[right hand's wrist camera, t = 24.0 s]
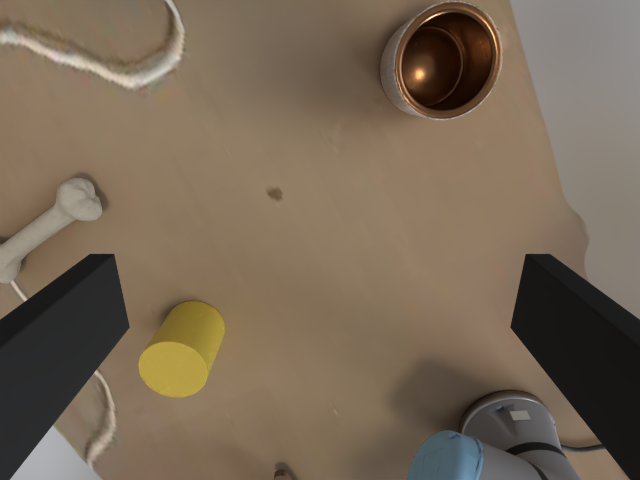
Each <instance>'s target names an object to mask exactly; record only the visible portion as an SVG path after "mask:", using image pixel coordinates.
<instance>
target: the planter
mask: <svg viewBox="0 0 640 480" xmlns="http://www.w3.org/2000/svg"><path fill="white" fill-rule="evenodd" d="M502 60H503V47H502V40H501V36H500V33H499V31H498V29H497V26H496V25H495V23H494V21H493V20H492V19H491V17H490V16H489V15H488V14H487V13H486V12H485V11H483V10H482V9H481V8H479V7H477V6H475V5H473V4H471V3H468V2H463V1H446V2H441V3H438V4H435V5H433V6H430V7H428V8H427V9H425V10H423V11H422V12H420V13H419V14H418V15H416V16H415V17H414V18H412V19H411V20H409V21H408V22H406V23H405V24H403V25H402V26H401V27H400V28H399V29H398V30H396V32H395V33H394V34H393V35H392V36H391V38H390V39H389V41H388V43H387V44H386V46H385V49H384V51H383V54H382V58H381V63H380V78H381V83H382V87H383V89H384V92H385V94H386V95H387V97H388V99H389V100H390V101H391V102H392V103H393V104H394V105H395V106H396V107H397V108H398V109H400V110H401V111H403V112H405V113H408V114H411V115H415V116H420V117H425V118H429V119H434V120H449V119H454V118H458V117H461V116H463V115H465V114H467V113H469V112H471V111H472V110H474V109H475V108H476V107H478V106H479V105H480V104H481V103H482V102H483V101H484V100H485V99H486V98H487V97H488V95H489V94H490V93H491V91H492V90H493V88H494V86H495V84H496V82H497V80H498V77H499V74H500V71H501V67H502Z"/></svg>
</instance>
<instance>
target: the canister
mask: <svg viewBox="0 0 640 480" xmlns="http://www.w3.org/2000/svg"><path fill="white" fill-rule="evenodd" d="M224 334H225V323H224V320H223V318H222V316H221V315H220V313H219V312H218V311H217V310H216V309H215V308H213V307H212V306H210V305H208V304H206V303H203V302H199V301H187V302H183V303H181V304H179V305H177V306H175V307H174V308H173V309H172V310H171V312H170V313H169V315H168V316H167V317H166V319H165V320H164V322H163V323H162V325H161V326H160V328H159V329H158V331H157V332H156V334H155V335H154V337H153V338H152V340H151V341H150V343H149V344H148V346H147V347H146V348H145V350H144V351H143V353H142V354H141V356H140V359H139V364H138V367H139V373H140V375H141V377H142V379H143V381H144V382H145V383H146V384H147V385H148V386H149V387H150V388H151V389H153V390H154V391H156V392H158V393H160V394H162V395H165V396H169V397H185V396H189V395H192V394H194V393H196V392H197V391H199V390H200V389H201V388H202V387H203V386H204V384H205V382H206V380H207V377H208V375H209V372H210V370H211V367H212V364H213V362H214V359H215V357H216V354H217V352H218V349H219V347H220V344H221V342H222V339H223V337H224Z"/></svg>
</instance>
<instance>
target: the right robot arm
mask: <svg viewBox="0 0 640 480" xmlns="http://www.w3.org/2000/svg"><path fill="white" fill-rule="evenodd" d="M128 329H129V322H128V318H127V313H126V308H125V303H124V299H123V294H122V289H121V284H120V280H119V275H118V270H117V265H116V261H115V256H114V254H89V255H88V256H87V257H85V258H84V259H83V260H81V261H80V262H79V263H77V264H76V265H74V266H73V267H72V268H70V269H69V270H68V271H66V272H65V273H64V274H62V275H61V276H59V277H58V278H57V279H55V280H54V281H53V282H51V283H50V284H48V285H47V286H46V287H44V288H43V289H42V290H40V291H39V292H38V293H36V294H35V295H33V296H32V297H31V298H29V299H28V300H27V301H25V302H24V303H23V304H21V305H20V306H18V307H17V308H16V309H14V310H13V311H12V312H10V313H9V314H8V315H6V316H5V317H3V318H2V319H1V320H0V480H10V479H11V477H12V476H13V475H14V473H15V472H16V471H17V470H18V468H19V467H20V466H21V465H22V463H23V462H24V461H25V459H26V458H27V457H28V456H29V454H30V453H31V452H32V451H33V449H34V448H35V447H36V445H37V444H38V443H39V442H40V440H41V439H42V438H43V437H44V435H45V434H46V433H47V432H48V430H49V429H50V428H51V427H52V425H53V424H54V423H55V421H56V420H57V419H58V418H59V416H60V415H61V414H62V413H63V411H64V410H65V409H66V407H67V406H68V405H69V404H70V402H71V401H72V400H73V399H74V397H75V396H76V395H77V394H78V392H79V391H80V390H81V388H82V387H83V386H84V385H85V383H86V382H87V381H88V380H89V378H90V377H91V376H92V374H93V373H94V372H95V371H96V369H97V368H98V367H99V366H100V364H101V363H102V362H103V360H104V359H105V358H106V357H107V355H108V354H109V353H110V352H111V350H112V349H113V348H114V347H115V345H116V344H117V343H118V341H119V340H120V339H121V338H122V336H123V335H124V334H125V333H126V331H127V330H128ZM511 329H512V330H513V331H514V333H515V334H516V335H517V336H518V338H519V339H520V340H521V341H522V343H523V344H524V345H525V347H526V348H527V349H528V350H529V352H530V353H531V354H532V355H533V357H534V358H535V359H536V360H537V362H538V363H539V364H540V366H541V367H542V368H543V369H544V371H545V372H546V373H547V374H548V376H549V377H550V378H551V380H552V381H553V382H554V383H555V385H556V386H557V387H558V388H559V390H560V391H561V392H562V394H563V395H564V396H565V397H566V399H567V400H568V401H569V402H570V404H571V405H572V406H573V407H574V409H575V410H576V411H577V413H578V414H579V415H580V416H581V418H582V419H583V420H584V421H585V423H586V424H587V425H588V427H589V428H590V429H591V430H592V432H593V433H594V434H595V435H596V437H597V438H598V439H599V440H600V442H601V443H602V444H603V446H604V447H605V448H606V449H607V451H608V452H609V453H610V454H611V456H612V457H613V458H614V460H615V461H616V462H617V463H618V465H619V466H620V467H621V468H622V470H623V471H624V472H625V473H626V475H627V476H628V477H629V479H630V480H640V320H639V319H638V318H637V317H635V316H634V315H632V314H631V313H630V312H628V311H627V310H626V309H624V308H623V307H622V306H620V305H619V304H617V303H616V302H615V301H613V300H612V299H611V298H609V297H608V296H606V295H605V294H604V293H602V292H601V291H600V290H598V289H597V288H596V287H594V286H593V285H591V284H590V283H589V282H587V281H586V280H585V279H583V278H582V277H581V276H579V275H578V274H576V273H575V272H574V271H572V270H571V269H570V268H568V267H567V266H566V265H564V264H563V263H561V262H560V261H559V260H557V259H556V258H555V257H553V256H552V255H551V254H526V256H525V261H524V265H523V270H522V275H521V280H520V284H519V289H518V294H517V299H516V303H515V308H514V313H513V318H512V322H511Z"/></svg>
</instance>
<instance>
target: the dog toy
mask: <svg viewBox="0 0 640 480" xmlns="http://www.w3.org/2000/svg"><path fill="white" fill-rule="evenodd" d="M56 195H57V200H56V203H55V205H54V206H52V207H51V208H50V209H48V210H47V211H46V212H44V213H43V214H42V215H40V216H39V217H38V218H36V219H35V220H34V221H32V222H31V223H30V224H29V225H27V226H26V227H25V228H23V229H22V230H21V231H19V232H18V233H17V234H15V235H14V236H13V237H11V238H10V239H9V240H7V241H6V242H5V243H3V244H0V282H1V283H9V282H11V281H12V280H13V279H14V278H15V277H16V276H17V274H18V272H19V271H20V268H21V260H22V259H23V258H24V257H25V256H26V255H27V254H28V253H29V252H31V251H32V250H33V249H35V248H36V247H37V246H39V245H40V244H41V243H43V242H44V241H45V240H47V239H48V238H50V237H51V236H52V235H54V234H55V233H56V232H58V231H59V230H61V229H62V228H63V227H65V226H66V225H68V224H70V223H71V222H73V221H75V220H80V221H94V220H96V219H98V218H99V217H100V216H101V214H102V211H103V210H102V206H101V202H100V198H99V197H97V196H96V194H95V189H94V186H93V184H92V183H91V182H90V181H88V180H86V179H83V178H72V179H68V180H66V181H64V182H63V183H62V184H61V185H60V186H59V187H58V189H57V193H56Z"/></svg>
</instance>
